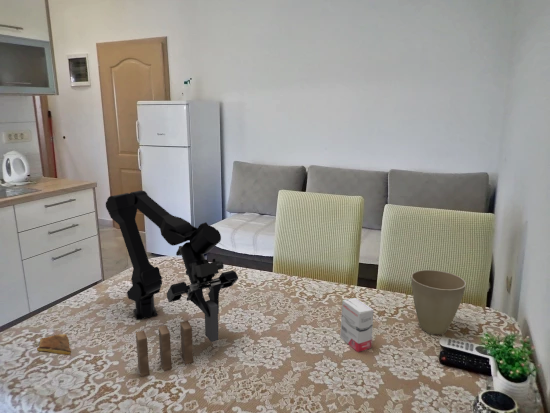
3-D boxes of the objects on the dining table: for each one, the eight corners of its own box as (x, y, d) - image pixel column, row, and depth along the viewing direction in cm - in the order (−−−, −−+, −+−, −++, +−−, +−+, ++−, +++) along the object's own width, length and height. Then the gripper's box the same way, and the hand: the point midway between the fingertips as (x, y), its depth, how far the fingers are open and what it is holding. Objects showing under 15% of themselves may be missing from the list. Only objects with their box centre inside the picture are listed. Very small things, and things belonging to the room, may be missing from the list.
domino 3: (185, 364, 103) (184, 329, 101) (181, 356, 106) (180, 322, 104) (193, 362, 104) (191, 327, 102) (189, 354, 107) (187, 320, 105)
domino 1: (141, 376, 98) (138, 340, 96) (138, 367, 102) (135, 332, 99) (149, 374, 99) (146, 338, 97) (146, 365, 102) (144, 330, 100)
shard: (71, 356, 107) (70, 350, 106) (38, 365, 103) (37, 359, 102) (67, 337, 116) (67, 331, 115) (37, 345, 112) (36, 339, 111)
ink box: (372, 348, 111) (375, 309, 108) (357, 352, 109) (360, 313, 106) (353, 333, 118) (355, 296, 116) (339, 337, 116) (341, 299, 114)
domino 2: (163, 370, 100) (161, 334, 98) (160, 362, 104) (158, 327, 102) (171, 368, 101) (169, 332, 99) (168, 359, 105) (166, 325, 103)
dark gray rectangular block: (211, 342, 105) (210, 307, 103) (205, 335, 108) (204, 301, 106) (218, 339, 106) (217, 305, 104) (212, 333, 110) (211, 299, 107)
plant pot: (466, 327, 122) (473, 278, 118) (448, 348, 111) (455, 294, 108) (419, 311, 132) (423, 265, 128) (398, 328, 121) (402, 279, 118)
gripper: (168, 255, 100) (187, 314, 94) (234, 242, 110) (255, 295, 104) (159, 274, 108) (176, 329, 102) (222, 260, 118) (240, 310, 112)
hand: (213, 315), depth 105 cm, fingers closed on dark gray rectangular block, 2 cm apart
